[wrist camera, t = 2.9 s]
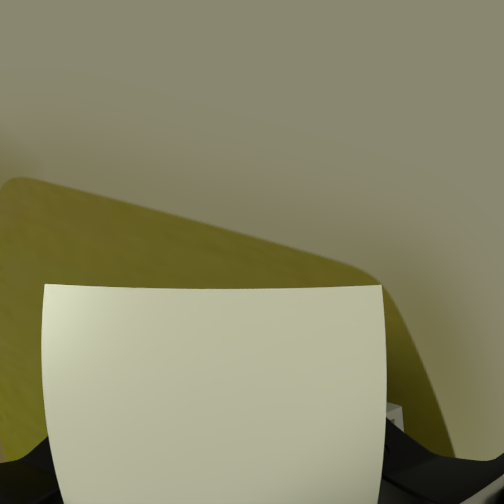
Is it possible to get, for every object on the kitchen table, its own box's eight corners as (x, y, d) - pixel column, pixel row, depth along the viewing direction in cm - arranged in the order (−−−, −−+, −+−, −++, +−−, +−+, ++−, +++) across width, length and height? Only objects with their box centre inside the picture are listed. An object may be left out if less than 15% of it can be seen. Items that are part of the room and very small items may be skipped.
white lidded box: (275, 422, 15) (366, 555, 3) (175, 422, 15) (81, 550, 2) (273, 325, 17) (381, 284, 5) (172, 325, 16) (44, 284, 4)
